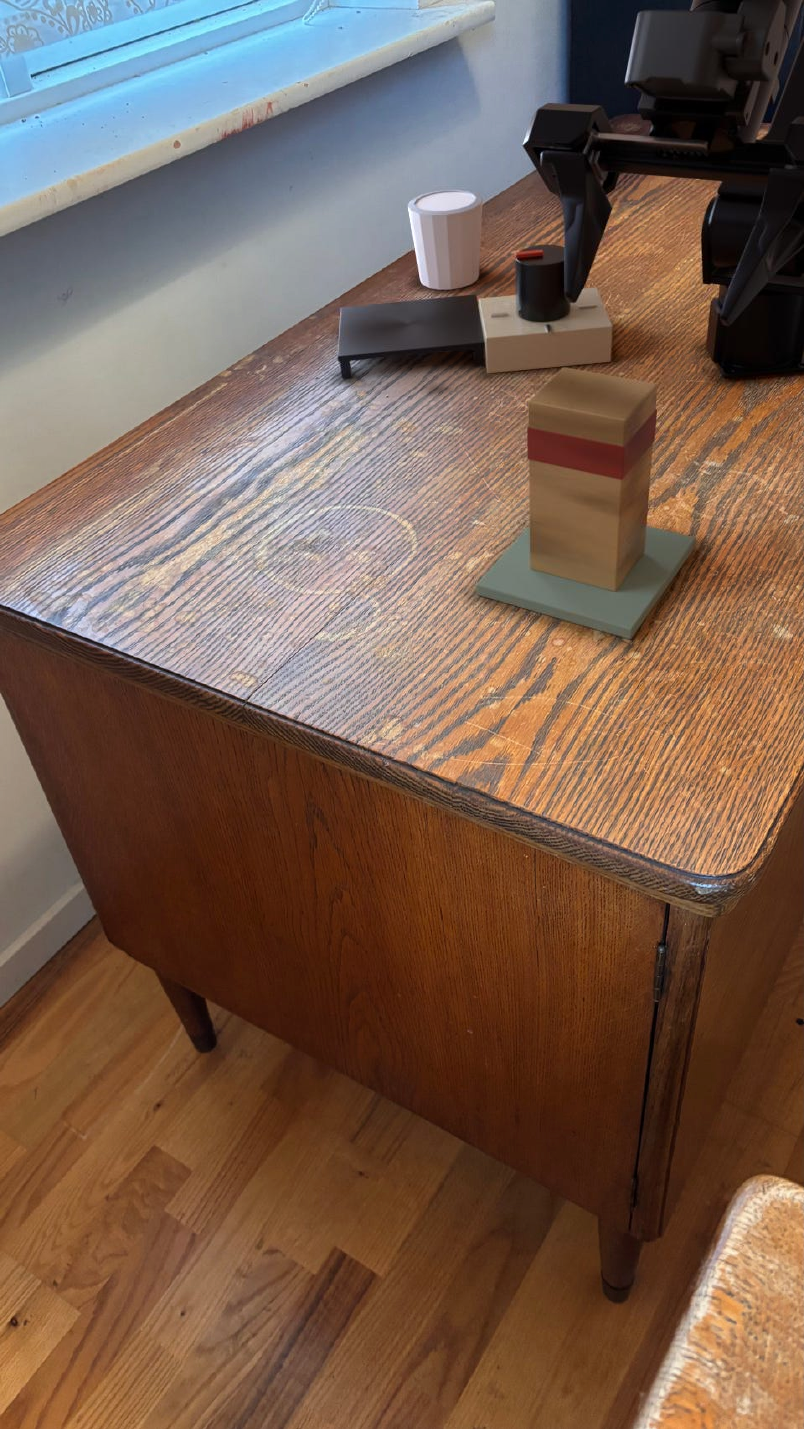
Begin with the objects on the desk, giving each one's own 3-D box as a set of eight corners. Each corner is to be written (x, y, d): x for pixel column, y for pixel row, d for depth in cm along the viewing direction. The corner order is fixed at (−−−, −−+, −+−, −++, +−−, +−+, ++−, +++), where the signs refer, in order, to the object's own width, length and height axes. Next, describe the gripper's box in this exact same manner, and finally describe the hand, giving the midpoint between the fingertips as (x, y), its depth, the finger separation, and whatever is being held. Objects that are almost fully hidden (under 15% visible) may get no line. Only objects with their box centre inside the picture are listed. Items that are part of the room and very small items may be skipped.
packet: (560, 531, 66) (562, 366, 59) (646, 552, 64) (659, 382, 56) (528, 569, 64) (526, 401, 56) (615, 593, 61) (626, 420, 54)
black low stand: (477, 316, 93) (476, 294, 92) (485, 365, 86) (484, 342, 85) (343, 329, 94) (340, 307, 93) (340, 379, 87) (337, 356, 85)
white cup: (403, 290, 99) (396, 212, 95) (429, 262, 104) (423, 187, 99) (471, 294, 97) (467, 215, 92) (495, 266, 102) (492, 189, 97)
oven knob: (566, 297, 87) (567, 238, 84) (574, 319, 84) (575, 258, 81) (513, 303, 87) (512, 243, 84) (519, 324, 84) (518, 263, 81)
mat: (549, 512, 70) (549, 501, 69) (695, 547, 65) (696, 537, 65) (476, 595, 64) (475, 584, 63) (630, 640, 59) (631, 629, 59)
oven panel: (595, 320, 91) (596, 283, 88) (611, 363, 84) (613, 325, 82) (479, 331, 91) (478, 295, 89) (487, 375, 85) (486, 337, 83)
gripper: (536, -70, 55) (443, 223, 56) (915, -80, 47) (797, 264, 48) (594, 65, 65) (515, 311, 66) (914, 77, 57) (818, 358, 58)
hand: (644, 310), depth 59 cm, fingers open, 9 cm apart
